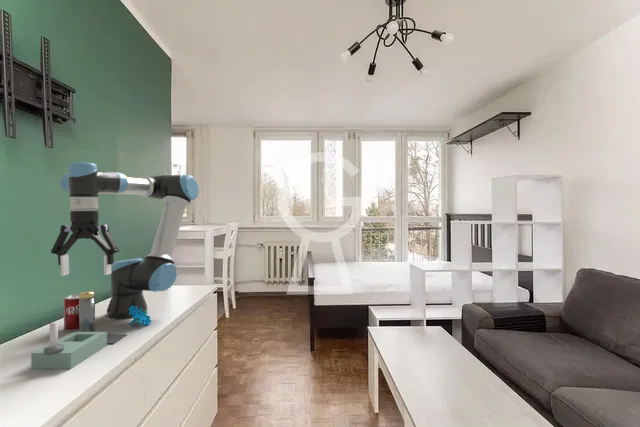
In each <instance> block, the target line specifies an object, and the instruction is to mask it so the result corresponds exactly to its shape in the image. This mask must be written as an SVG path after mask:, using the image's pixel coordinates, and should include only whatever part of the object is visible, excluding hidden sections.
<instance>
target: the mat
mask: <svg viewBox="0 0 640 427" xmlns="http://www.w3.org/2000/svg"><path fill="white" fill-rule="evenodd" d="M127 336H128V334H127V333H107V345H115V344H116V343H118V342H119V341H120V340H123V337H124V338H125V337H127ZM117 341H118V342H117Z"/></svg>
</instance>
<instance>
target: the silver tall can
mask: <svg viewBox="0 0 640 427" xmlns="http://www.w3.org/2000/svg"><path fill="white" fill-rule="evenodd" d="M78 295H79V330H78V332H96V292H95V290H86V291H81V292H79V293H78Z"/></svg>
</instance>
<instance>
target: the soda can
mask: <svg viewBox="0 0 640 427" xmlns="http://www.w3.org/2000/svg"><path fill="white" fill-rule="evenodd" d="M63 330H64V331H66V332H79V294H72V295H67V296H65V298H63Z"/></svg>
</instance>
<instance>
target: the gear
mask: <svg viewBox="0 0 640 427" xmlns="http://www.w3.org/2000/svg"><path fill="white" fill-rule="evenodd" d="M137 308H138V306H136V305H135V306H130V308H129V309H128V310H129V311H130V312H129V314H130V315H133V317H131V318H132V319H133V320H131V322H130V323H129V324H128V325H129V326H132V325H134V323H136V322H137V323H138V324H141V325H143V326H149V325H150V324H151V323H152V320H151V316H150V315H148V310H147V311H146V310H145V311H144V312H142V310H143V309H142V308H140V309H139V310H138V309H137Z"/></svg>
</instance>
